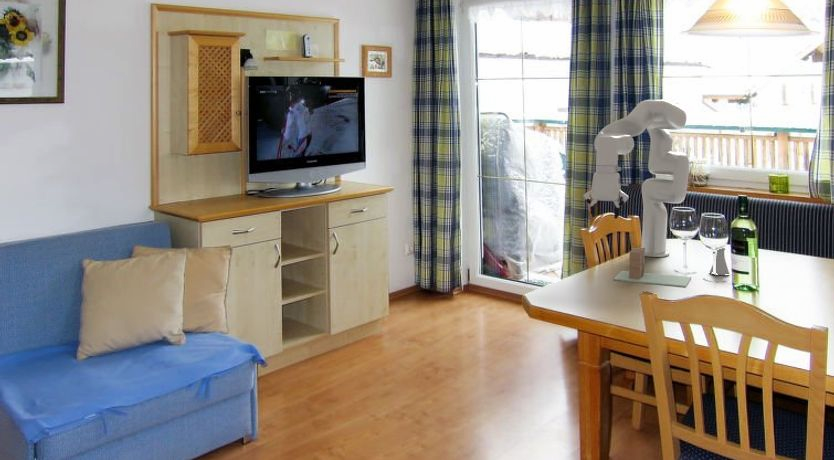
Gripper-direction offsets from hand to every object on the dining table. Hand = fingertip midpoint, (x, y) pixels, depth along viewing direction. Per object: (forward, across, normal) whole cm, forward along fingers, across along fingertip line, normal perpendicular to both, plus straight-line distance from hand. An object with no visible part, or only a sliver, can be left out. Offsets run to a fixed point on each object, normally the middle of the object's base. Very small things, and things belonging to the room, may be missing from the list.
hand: (605, 216), depth 281 cm
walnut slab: (+21, -12, 0) cm, 25 cm away
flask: (+22, -39, -17) cm, 48 cm away
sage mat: (+22, -18, 0) cm, 28 cm away
